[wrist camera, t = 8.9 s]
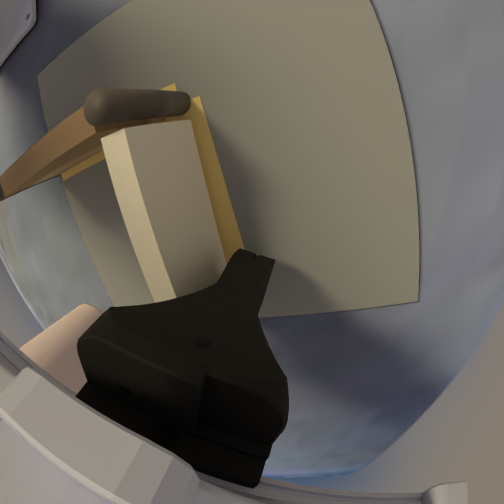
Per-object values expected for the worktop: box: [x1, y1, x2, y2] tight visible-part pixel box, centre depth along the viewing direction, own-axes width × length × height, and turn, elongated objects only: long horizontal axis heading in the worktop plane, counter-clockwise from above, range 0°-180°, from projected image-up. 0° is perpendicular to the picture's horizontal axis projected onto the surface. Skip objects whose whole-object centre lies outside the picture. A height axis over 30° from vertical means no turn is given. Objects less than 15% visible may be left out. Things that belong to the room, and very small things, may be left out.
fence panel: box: [101, 120, 227, 303], centre depth 10 cm, size 8×1×4 cm, turn 12°
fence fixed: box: [0, 89, 191, 201], centre depth 9 cm, size 1×10×5 cm, turn 105°
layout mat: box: [37, 0, 419, 318], centre depth 11 cm, size 16×16×1 cm
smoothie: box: [20, 304, 102, 393], centre depth 12 cm, size 6×6×14 cm
